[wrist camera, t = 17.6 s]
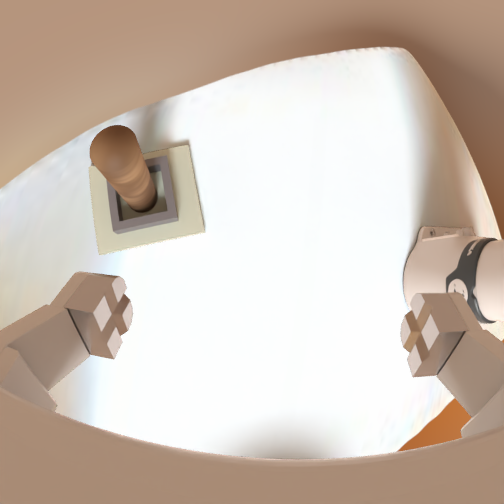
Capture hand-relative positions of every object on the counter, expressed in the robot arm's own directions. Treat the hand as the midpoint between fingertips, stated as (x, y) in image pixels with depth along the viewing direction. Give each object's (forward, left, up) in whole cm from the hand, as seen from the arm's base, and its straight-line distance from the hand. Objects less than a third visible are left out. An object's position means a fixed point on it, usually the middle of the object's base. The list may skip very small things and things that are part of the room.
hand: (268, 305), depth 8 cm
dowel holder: (+6, -12, -31) cm, 34 cm away
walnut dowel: (+6, -12, -30) cm, 33 cm away
